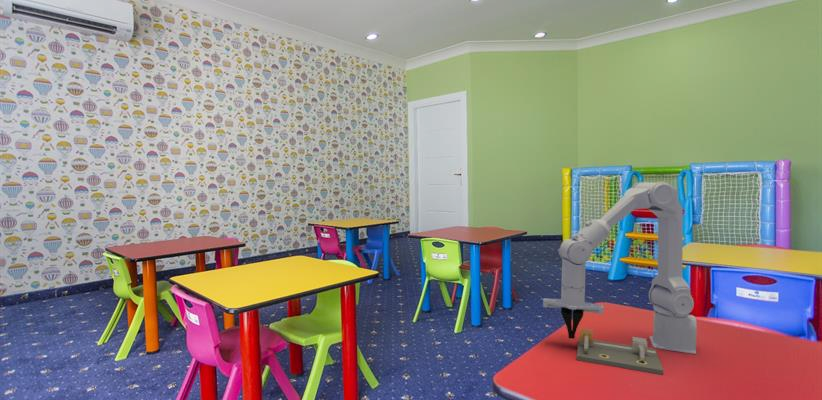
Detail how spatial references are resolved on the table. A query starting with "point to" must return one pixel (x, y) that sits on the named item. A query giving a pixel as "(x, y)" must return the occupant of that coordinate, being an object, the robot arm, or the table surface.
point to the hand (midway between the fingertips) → (571, 337)
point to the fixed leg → (640, 346)
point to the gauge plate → (619, 356)
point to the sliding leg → (586, 338)
